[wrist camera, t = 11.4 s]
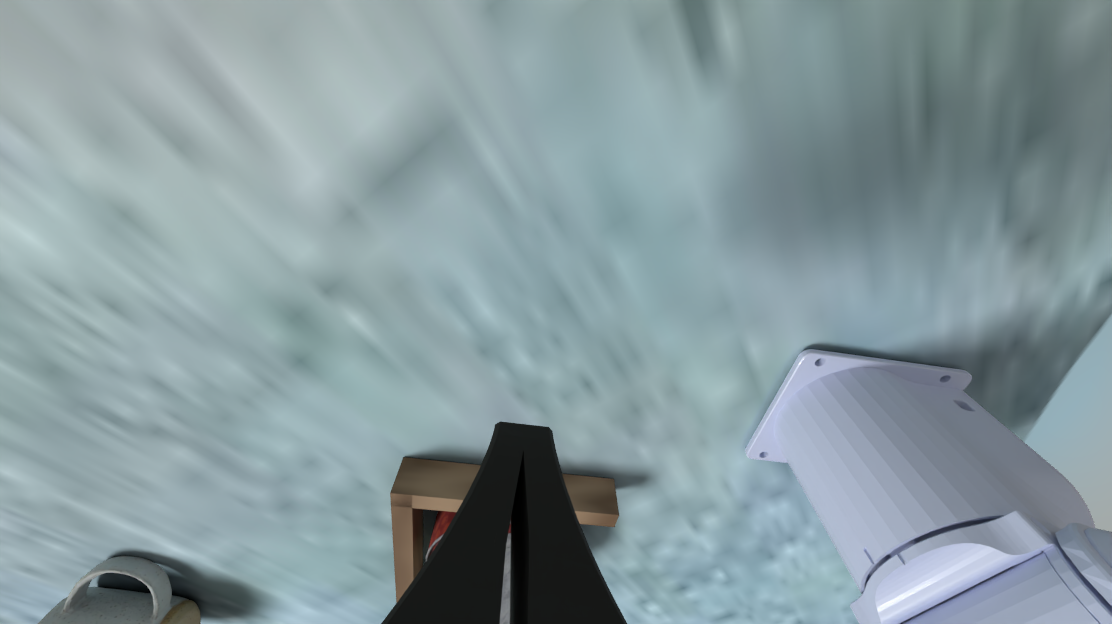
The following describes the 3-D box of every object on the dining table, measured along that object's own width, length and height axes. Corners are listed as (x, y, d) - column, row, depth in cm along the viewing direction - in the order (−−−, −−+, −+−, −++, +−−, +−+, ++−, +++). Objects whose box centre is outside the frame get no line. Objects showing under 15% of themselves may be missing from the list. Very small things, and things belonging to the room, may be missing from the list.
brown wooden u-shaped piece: (613, 479, 28) (619, 515, 26) (568, 605, 36) (569, 640, 34) (403, 457, 26) (390, 493, 24) (407, 592, 35) (397, 628, 33)
